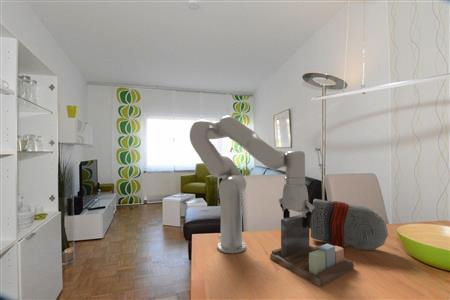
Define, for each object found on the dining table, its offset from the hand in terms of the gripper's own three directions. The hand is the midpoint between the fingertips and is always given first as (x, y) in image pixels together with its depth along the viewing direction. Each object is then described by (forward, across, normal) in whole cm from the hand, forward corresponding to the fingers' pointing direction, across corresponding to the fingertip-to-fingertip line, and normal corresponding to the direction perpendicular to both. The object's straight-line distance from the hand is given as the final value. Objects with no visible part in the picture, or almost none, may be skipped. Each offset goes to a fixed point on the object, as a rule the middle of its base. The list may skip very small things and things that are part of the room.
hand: (295, 223), depth 92 cm
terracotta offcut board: (+13, +14, +6) cm, 20 cm away
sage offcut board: (+13, +14, -6) cm, 20 cm away
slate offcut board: (+13, +14, 0) cm, 19 cm away
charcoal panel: (+13, 0, 0) cm, 13 cm away
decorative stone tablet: (+14, +6, +27) cm, 31 cm away
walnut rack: (+13, +7, 0) cm, 15 cm away
